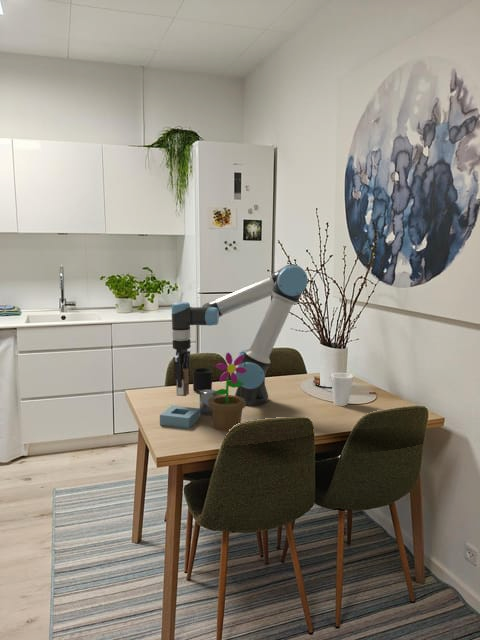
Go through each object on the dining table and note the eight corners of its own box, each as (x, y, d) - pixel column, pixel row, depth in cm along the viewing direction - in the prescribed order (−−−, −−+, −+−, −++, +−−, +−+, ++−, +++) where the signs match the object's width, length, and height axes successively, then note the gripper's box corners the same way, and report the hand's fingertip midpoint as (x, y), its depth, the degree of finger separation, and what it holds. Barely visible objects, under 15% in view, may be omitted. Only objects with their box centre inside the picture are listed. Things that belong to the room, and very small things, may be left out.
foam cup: (353, 402, 229) (355, 374, 227) (349, 408, 220) (350, 379, 218) (333, 399, 233) (334, 371, 231) (327, 405, 224) (328, 376, 222)
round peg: (218, 410, 214) (218, 390, 213) (213, 416, 208) (213, 395, 206) (202, 409, 216) (202, 388, 215) (197, 414, 210) (197, 393, 208)
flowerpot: (216, 434, 188) (216, 355, 183) (203, 422, 201) (203, 347, 196) (251, 429, 194) (252, 352, 189) (236, 417, 207) (237, 345, 202)
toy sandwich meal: (343, 387, 253) (344, 378, 252) (318, 389, 249) (318, 380, 248) (333, 381, 265) (333, 372, 264) (308, 382, 261) (309, 373, 260)
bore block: (199, 418, 205) (199, 408, 205) (188, 428, 194) (188, 418, 193) (172, 414, 209) (172, 405, 208) (159, 424, 197) (159, 414, 197)
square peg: (189, 393, 219) (188, 368, 217) (185, 396, 215) (184, 370, 213) (180, 392, 220) (179, 367, 218) (176, 395, 216) (176, 370, 214)
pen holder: (188, 390, 243) (188, 369, 242) (204, 386, 250) (204, 367, 248) (200, 394, 236) (200, 374, 235) (216, 391, 242) (216, 370, 241)
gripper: (181, 335, 223) (182, 386, 226) (164, 342, 207) (166, 398, 210) (197, 335, 221) (198, 388, 224) (182, 343, 205) (183, 399, 208)
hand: (182, 392), depth 217 cm, fingers closed on square peg, 4 cm apart
